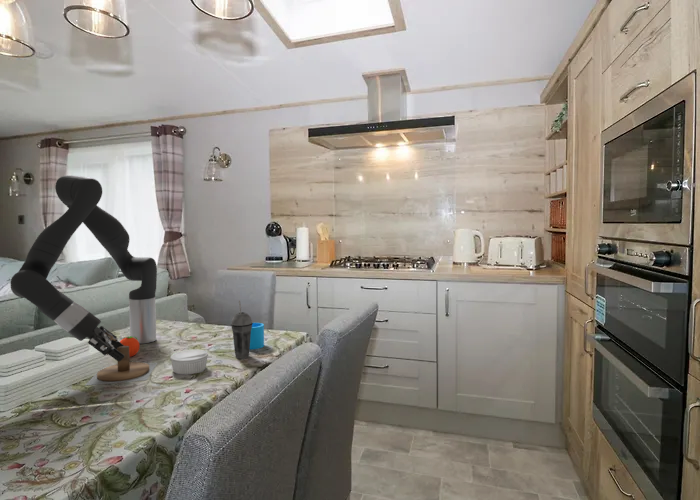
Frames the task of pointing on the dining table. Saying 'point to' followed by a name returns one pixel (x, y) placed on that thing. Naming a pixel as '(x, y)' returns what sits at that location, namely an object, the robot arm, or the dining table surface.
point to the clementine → (131, 345)
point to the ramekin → (189, 361)
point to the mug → (257, 336)
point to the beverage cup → (241, 333)
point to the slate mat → (142, 378)
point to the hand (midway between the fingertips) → (123, 354)
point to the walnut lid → (123, 369)
